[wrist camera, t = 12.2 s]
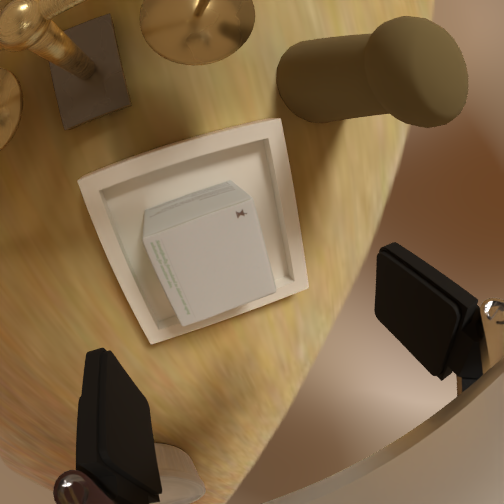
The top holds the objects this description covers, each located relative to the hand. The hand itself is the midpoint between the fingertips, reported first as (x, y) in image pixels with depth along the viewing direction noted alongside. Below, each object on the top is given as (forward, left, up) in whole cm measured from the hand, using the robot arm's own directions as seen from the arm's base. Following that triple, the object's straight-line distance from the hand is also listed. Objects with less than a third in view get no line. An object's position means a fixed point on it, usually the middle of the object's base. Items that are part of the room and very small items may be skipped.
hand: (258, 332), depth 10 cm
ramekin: (+25, -15, -12) cm, 32 cm away
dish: (+1, 0, -12) cm, 12 cm away
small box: (+1, 0, -11) cm, 11 cm away
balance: (-11, -4, -12) cm, 17 cm away
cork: (-7, +10, -12) cm, 17 cm away
